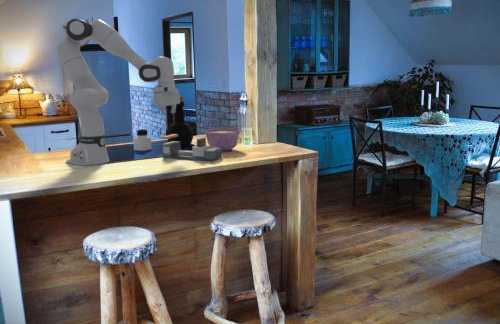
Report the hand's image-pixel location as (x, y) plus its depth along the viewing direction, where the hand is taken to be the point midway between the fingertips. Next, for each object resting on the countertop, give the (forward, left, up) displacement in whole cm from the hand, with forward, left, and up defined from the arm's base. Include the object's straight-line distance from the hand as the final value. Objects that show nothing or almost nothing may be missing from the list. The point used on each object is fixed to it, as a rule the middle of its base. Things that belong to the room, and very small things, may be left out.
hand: (168, 114), depth 262 cm
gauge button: (0, +1, -13) cm, 13 cm away
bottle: (-13, +32, -24) cm, 42 cm away
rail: (+13, +1, -23) cm, 27 cm away
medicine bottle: (-27, +13, -24) cm, 39 cm away
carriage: (+19, +1, -21) cm, 28 cm away
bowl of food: (+19, +26, -24) cm, 40 cm away
